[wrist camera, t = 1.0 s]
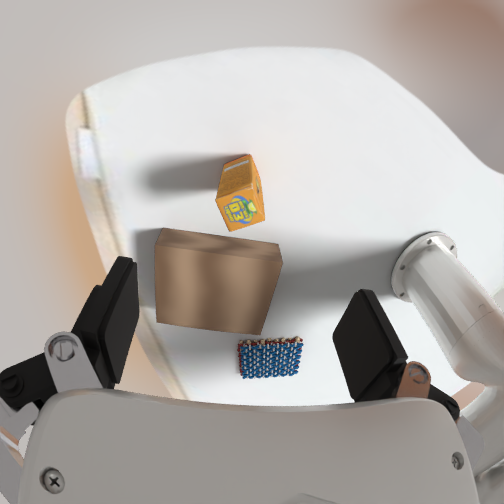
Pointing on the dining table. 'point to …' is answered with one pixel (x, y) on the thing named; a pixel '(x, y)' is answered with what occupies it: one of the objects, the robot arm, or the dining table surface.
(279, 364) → the woven mat
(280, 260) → the walnut stand
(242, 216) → the supplement box
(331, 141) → the dining table surface
